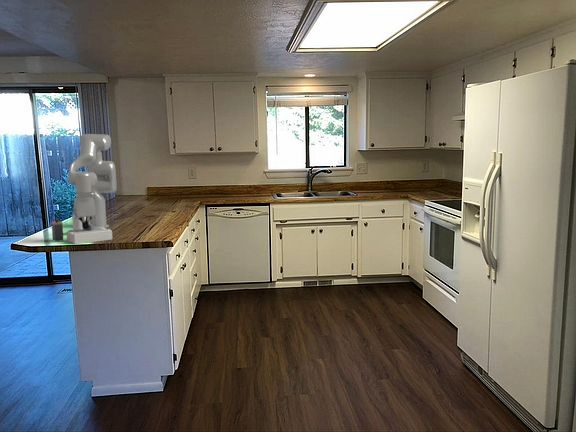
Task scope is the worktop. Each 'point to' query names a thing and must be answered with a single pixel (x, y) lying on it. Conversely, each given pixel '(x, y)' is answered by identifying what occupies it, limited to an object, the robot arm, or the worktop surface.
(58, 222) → the plug
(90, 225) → the shutter
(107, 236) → the socket block
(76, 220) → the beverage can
